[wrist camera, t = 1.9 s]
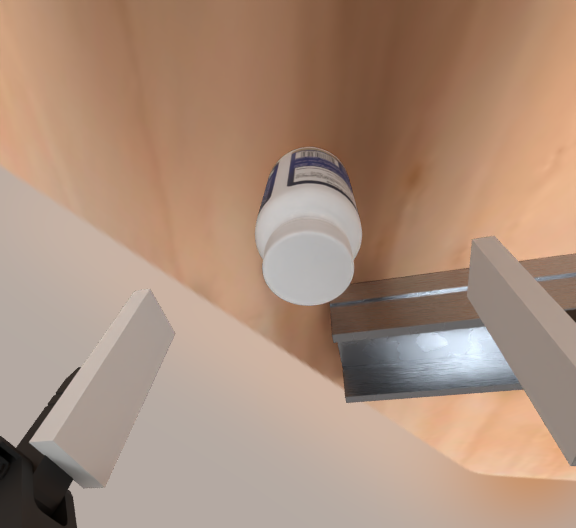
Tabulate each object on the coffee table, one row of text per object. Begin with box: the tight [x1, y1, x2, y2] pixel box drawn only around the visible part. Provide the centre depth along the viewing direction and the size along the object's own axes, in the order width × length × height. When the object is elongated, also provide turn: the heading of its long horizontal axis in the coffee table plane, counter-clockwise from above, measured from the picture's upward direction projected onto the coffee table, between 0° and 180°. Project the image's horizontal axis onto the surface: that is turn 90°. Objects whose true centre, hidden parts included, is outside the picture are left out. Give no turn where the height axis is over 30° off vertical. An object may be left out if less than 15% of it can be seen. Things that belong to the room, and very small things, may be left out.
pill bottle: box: [255, 147, 362, 306], centre depth 18 cm, size 5×5×10 cm
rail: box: [330, 254, 576, 403], centre depth 26 cm, size 8×20×5 cm, turn 103°
